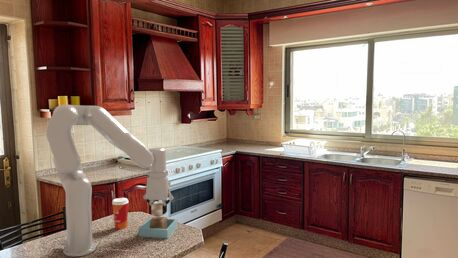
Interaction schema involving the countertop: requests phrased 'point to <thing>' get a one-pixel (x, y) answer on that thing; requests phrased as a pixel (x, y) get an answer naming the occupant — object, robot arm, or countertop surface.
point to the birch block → (157, 208)
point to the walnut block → (158, 222)
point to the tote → (157, 233)
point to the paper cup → (120, 212)
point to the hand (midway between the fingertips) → (158, 212)
